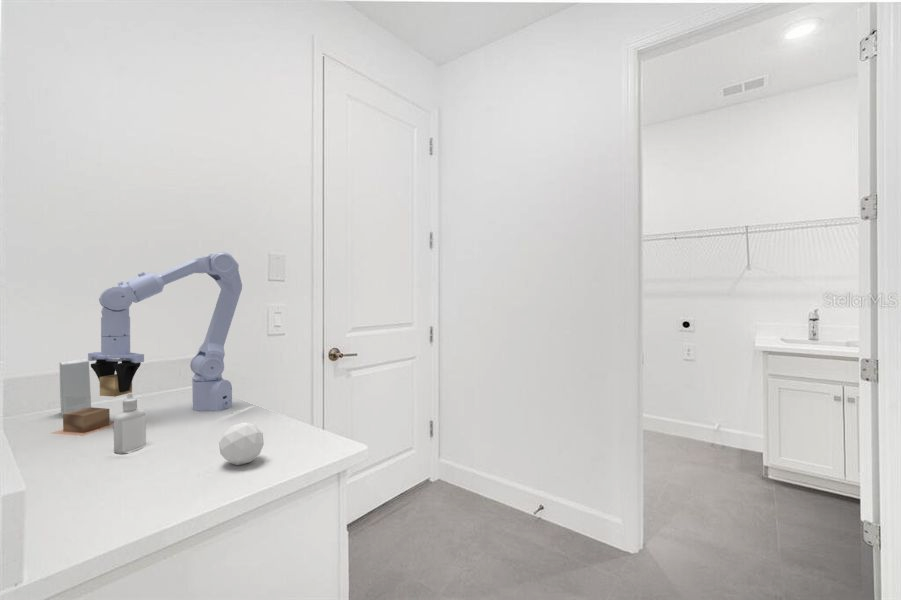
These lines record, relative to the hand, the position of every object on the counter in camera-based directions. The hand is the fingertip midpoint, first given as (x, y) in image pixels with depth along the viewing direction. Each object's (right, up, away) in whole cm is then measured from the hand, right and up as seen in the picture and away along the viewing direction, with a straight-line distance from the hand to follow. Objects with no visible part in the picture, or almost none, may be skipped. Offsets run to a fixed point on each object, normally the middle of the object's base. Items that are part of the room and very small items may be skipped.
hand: (116, 390), depth 108 cm
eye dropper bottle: (+16, -9, -17) cm, 25 cm away
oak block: (0, -1, 0) cm, 1 cm away
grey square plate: (-1, -9, -1) cm, 9 cm away
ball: (+42, -9, -23) cm, 49 cm away
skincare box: (-17, -9, +8) cm, 21 cm away
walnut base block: (-3, -8, -5) cm, 10 cm away
